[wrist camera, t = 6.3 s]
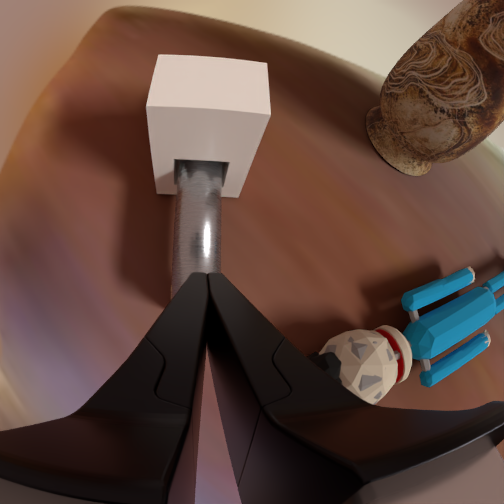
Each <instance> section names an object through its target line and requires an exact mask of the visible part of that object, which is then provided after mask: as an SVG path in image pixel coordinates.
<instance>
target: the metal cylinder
mask: <svg viewBox="0 0 504 504" xmlns="http://www.w3.org/2000/svg"><path fill="white" fill-rule="evenodd" d="M221 192H222V162H221V161H205V160H186V159H180V160H179V171H178V182H177V194H176V208H175V223H174V240H173V262H172V285H171V300H172V298H173V297H174V296H175V294H176V293H177V291H178V290H179V289H180V287H181V286H182V285H183V283H184V282H185V281H186V280H187V278H188V277H189V276H190V274H191V273H192V272H204V273H206V274H208V273H221Z"/></svg>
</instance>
